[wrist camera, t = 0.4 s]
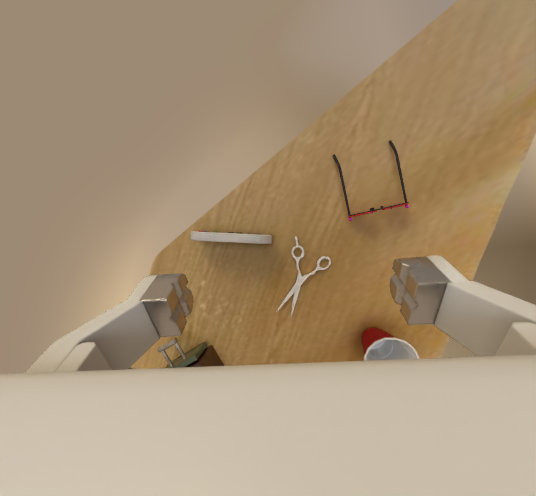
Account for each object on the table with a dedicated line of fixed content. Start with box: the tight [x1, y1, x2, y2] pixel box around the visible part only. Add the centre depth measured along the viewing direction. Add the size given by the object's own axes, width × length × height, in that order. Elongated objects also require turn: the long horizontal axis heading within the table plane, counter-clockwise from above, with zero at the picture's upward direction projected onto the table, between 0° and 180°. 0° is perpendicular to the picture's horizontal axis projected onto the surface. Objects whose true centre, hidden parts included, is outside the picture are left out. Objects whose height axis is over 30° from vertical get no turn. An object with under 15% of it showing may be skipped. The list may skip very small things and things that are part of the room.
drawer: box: [158, 338, 207, 368], centre depth 61 cm, size 19×11×7 cm, turn 32°
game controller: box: [191, 231, 272, 244], centre depth 59 cm, size 20×2×8 cm, turn 87°
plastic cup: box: [362, 328, 420, 361], centre depth 56 cm, size 11×11×12 cm
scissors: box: [277, 237, 331, 319], centre depth 62 cm, size 11×1×20 cm
